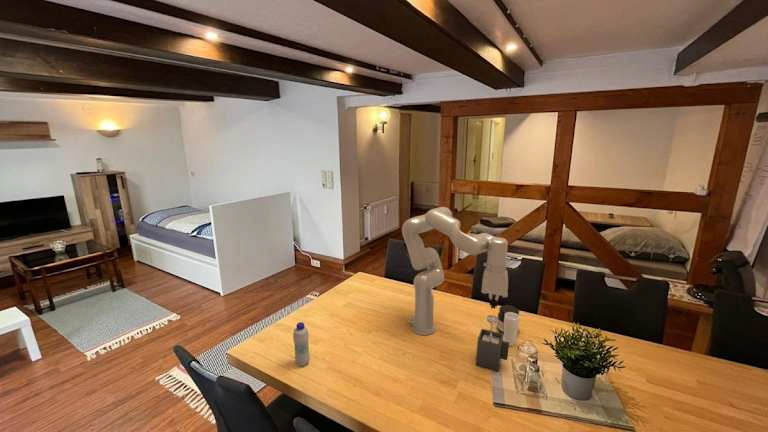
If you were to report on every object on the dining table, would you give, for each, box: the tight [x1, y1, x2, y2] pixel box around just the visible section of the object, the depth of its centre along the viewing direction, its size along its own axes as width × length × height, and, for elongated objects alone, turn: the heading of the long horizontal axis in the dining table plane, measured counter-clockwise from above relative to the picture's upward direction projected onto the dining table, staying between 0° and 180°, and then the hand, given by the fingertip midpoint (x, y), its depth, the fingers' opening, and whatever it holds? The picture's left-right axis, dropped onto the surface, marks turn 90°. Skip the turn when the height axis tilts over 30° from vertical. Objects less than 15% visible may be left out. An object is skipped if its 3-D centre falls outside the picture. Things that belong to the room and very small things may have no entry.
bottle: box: [292, 321, 311, 367], centre depth 147 cm, size 7×7×20 cm
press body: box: [475, 328, 510, 373], centre depth 148 cm, size 12×10×13 cm
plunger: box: [482, 314, 500, 344], centre depth 146 cm, size 7×7×12 cm
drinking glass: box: [503, 312, 520, 347], centre depth 162 cm, size 7×7×15 cm
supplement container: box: [496, 304, 521, 334], centre depth 173 cm, size 10×10×12 cm
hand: (493, 307), depth 143 cm, fingers closed
